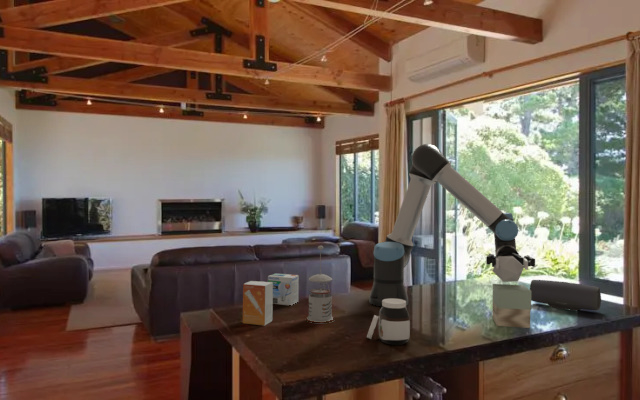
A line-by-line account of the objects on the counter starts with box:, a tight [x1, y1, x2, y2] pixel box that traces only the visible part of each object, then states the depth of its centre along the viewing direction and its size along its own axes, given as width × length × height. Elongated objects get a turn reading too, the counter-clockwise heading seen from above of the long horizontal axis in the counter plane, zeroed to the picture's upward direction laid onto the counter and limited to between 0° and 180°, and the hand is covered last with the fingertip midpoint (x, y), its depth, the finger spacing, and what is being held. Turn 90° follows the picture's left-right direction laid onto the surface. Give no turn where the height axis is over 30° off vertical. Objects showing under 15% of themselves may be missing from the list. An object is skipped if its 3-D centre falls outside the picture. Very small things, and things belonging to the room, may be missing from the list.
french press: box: [306, 245, 334, 322], centre depth 156 cm, size 10×12×25 cm
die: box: [492, 256, 525, 283], centre depth 152 cm, size 8×9×10 cm
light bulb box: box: [267, 273, 300, 306], centre depth 179 cm, size 11×7×11 cm, turn 68°
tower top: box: [492, 283, 532, 311], centre depth 152 cm, size 10×10×6 cm
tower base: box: [492, 301, 531, 329], centre depth 153 cm, size 10×10×6 cm
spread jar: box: [366, 298, 411, 346], centre depth 133 cm, size 12×11×12 cm
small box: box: [242, 280, 274, 327], centre depth 151 cm, size 8×6×13 cm
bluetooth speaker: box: [529, 279, 602, 311], centre depth 173 cm, size 23×9×10 cm, turn 49°
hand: (512, 264), depth 148 cm, fingers closed on die, 8 cm apart
